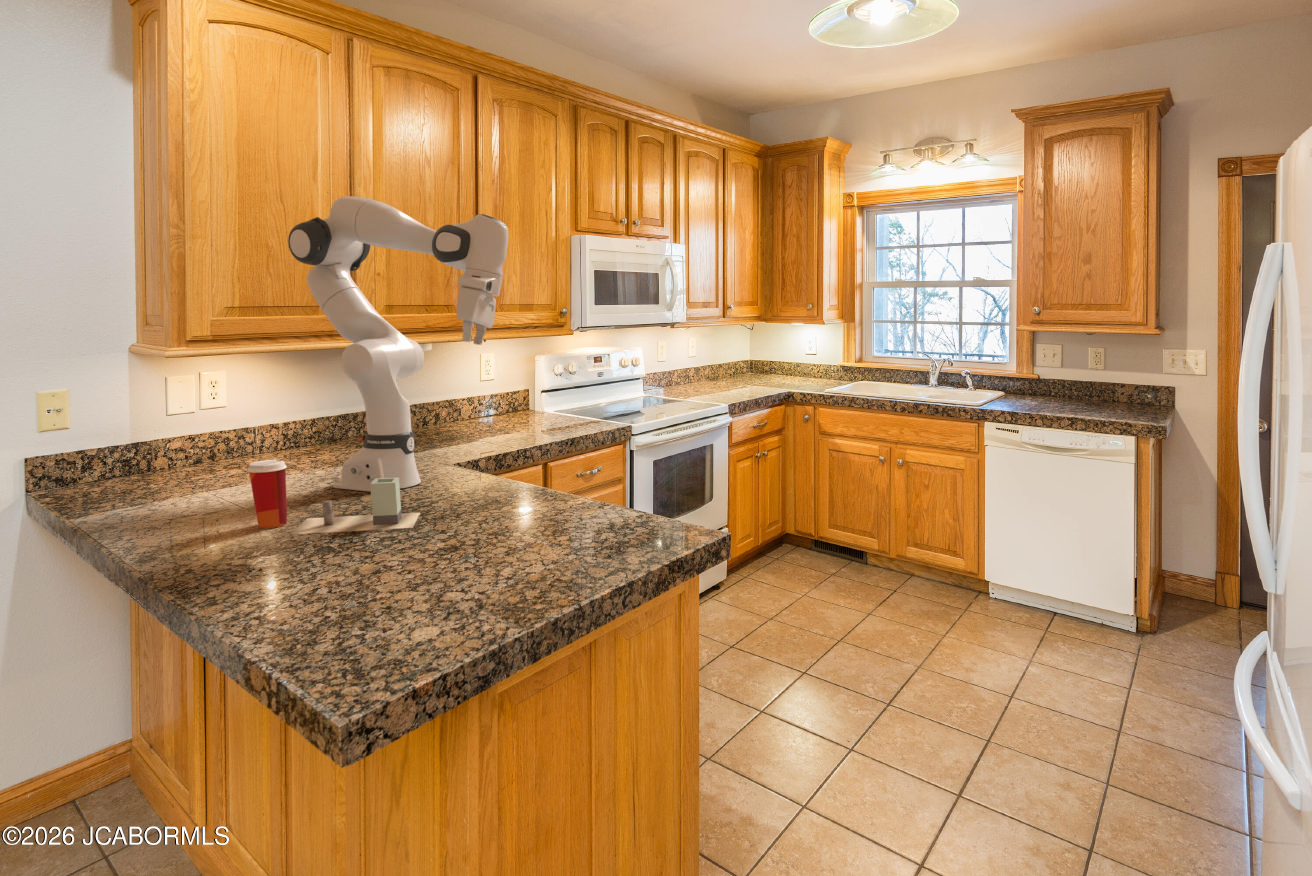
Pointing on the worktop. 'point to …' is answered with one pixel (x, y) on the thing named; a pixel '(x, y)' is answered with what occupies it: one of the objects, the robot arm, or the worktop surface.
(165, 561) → the worktop surface
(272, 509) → the paper cup
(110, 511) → the worktop surface
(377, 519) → the sleeve
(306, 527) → the pin board
